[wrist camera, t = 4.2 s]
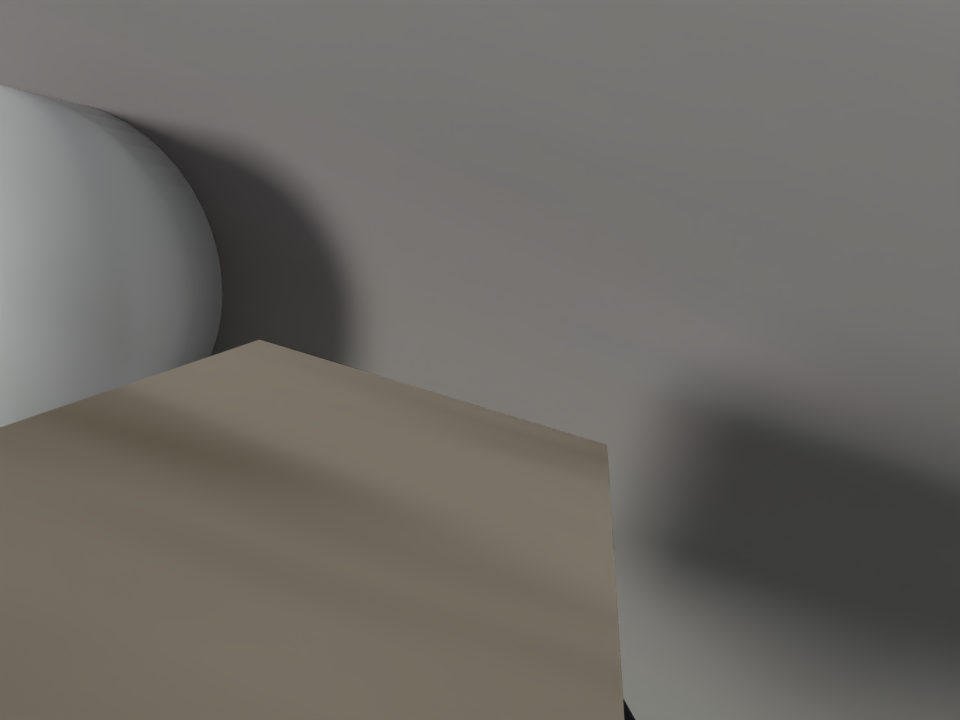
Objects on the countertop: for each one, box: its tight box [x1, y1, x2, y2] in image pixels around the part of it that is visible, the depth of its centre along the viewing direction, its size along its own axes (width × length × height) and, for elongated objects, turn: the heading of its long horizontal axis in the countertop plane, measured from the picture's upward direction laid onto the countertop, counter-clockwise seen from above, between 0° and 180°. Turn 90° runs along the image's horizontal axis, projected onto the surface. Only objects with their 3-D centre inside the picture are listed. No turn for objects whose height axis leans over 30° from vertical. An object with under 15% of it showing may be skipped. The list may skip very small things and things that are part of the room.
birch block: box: [0, 340, 624, 720], centre depth 6 cm, size 5×5×6 cm
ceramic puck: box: [0, 85, 222, 427], centre depth 15 cm, size 9×9×4 cm
